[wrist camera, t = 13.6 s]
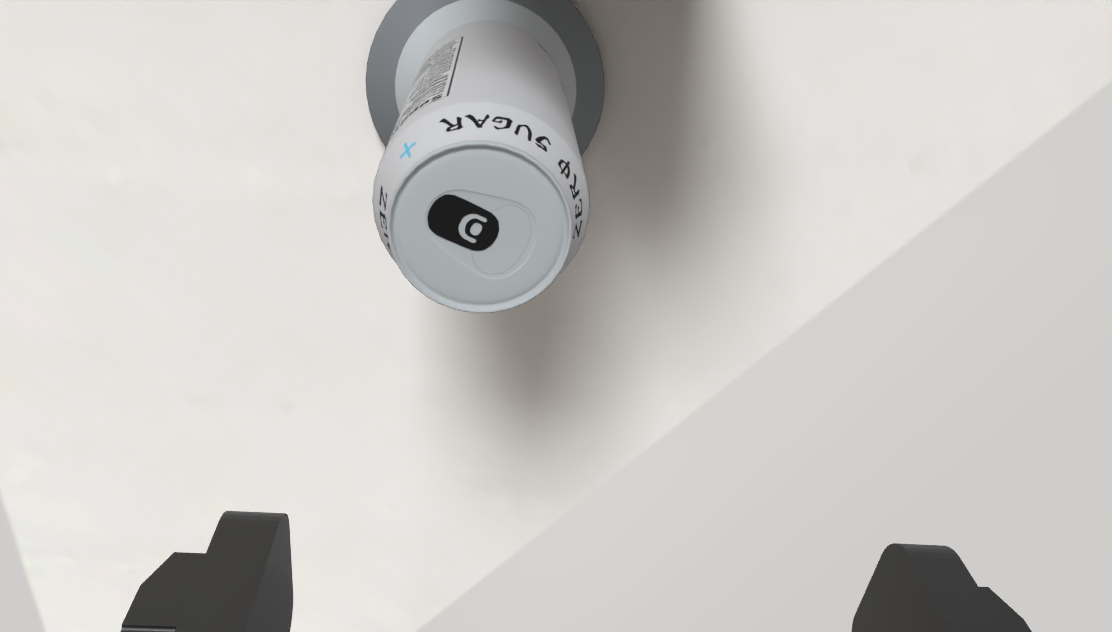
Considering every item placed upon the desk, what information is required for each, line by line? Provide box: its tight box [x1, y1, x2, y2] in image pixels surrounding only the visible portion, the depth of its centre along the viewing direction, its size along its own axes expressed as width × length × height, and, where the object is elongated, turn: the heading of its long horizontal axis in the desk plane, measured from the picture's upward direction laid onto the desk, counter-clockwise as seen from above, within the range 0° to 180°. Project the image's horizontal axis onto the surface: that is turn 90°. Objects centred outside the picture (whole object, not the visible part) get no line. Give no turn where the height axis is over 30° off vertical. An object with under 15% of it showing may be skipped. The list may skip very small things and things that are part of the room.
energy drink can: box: [372, 20, 589, 313], centre depth 28 cm, size 6×6×15 cm
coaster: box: [366, 0, 604, 156], centre depth 35 cm, size 10×10×1 cm
